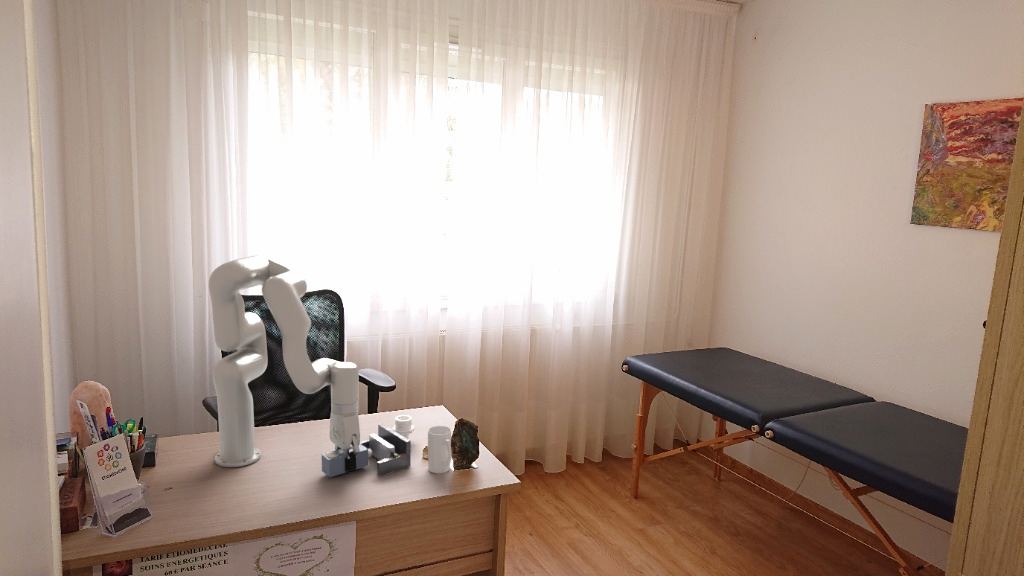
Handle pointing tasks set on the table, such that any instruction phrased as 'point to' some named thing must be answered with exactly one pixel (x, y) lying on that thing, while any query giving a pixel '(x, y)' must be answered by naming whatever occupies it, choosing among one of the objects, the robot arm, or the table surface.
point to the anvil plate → (381, 448)
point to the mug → (439, 449)
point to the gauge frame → (401, 449)
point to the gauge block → (343, 460)
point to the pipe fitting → (403, 425)
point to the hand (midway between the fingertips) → (346, 466)
